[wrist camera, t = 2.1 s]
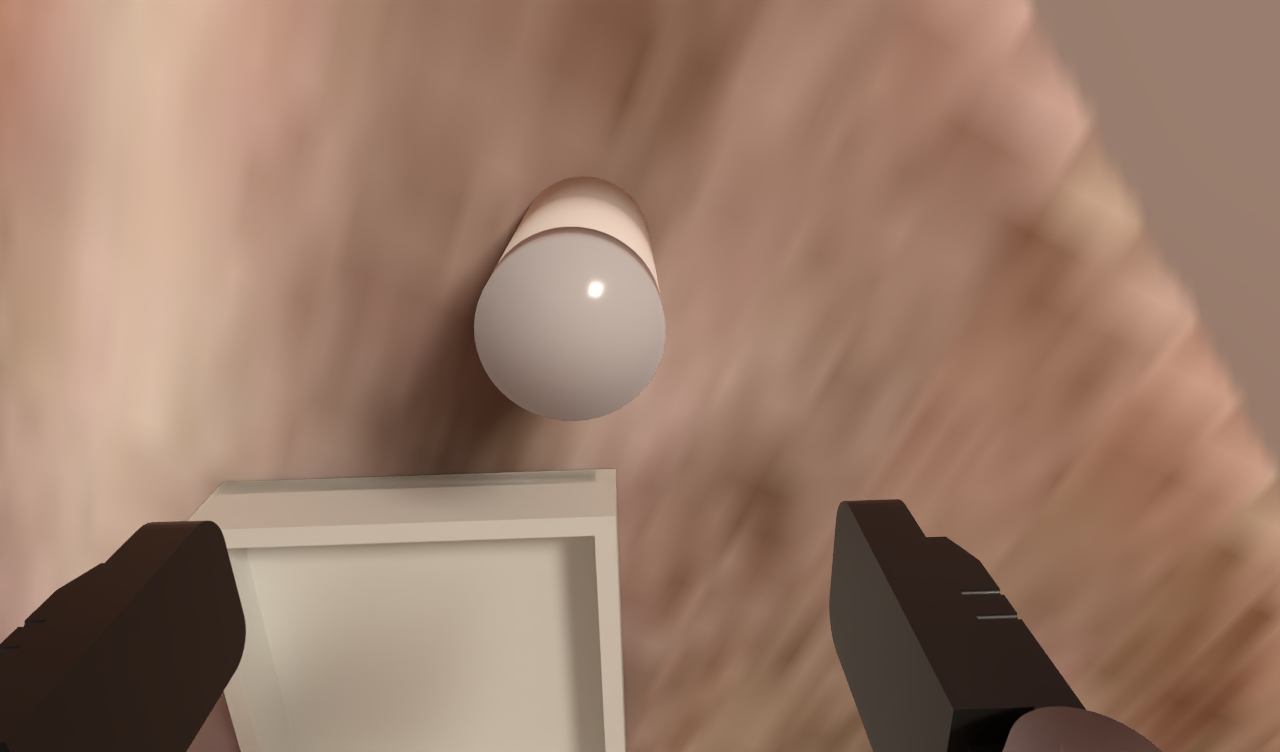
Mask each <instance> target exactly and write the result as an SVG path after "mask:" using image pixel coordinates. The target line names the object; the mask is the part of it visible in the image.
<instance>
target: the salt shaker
mask: <svg viewBox="0 0 1280 752" xmlns="http://www.w3.org/2000/svg"><path fill="white" fill-rule="evenodd" d="M665 336H666V328H665V318H664V313H663V307H662V302H661V296H660V291H659V286H658V280H657V275H656V269H655V264H654V259H653V253H652V248H651V243H650V237H649V232H648V227H647V223H646V221H645V218H644V215H643V213H642V211H641V210H640V208H639V206H638V205H637V204H636V202H635V201H634V200H633V199H632V198H631V196H630V195H629V194H627V193H626V192H625V191H624V190H623V189H621V188H619V187H618V186H616V185H615V184H612V183H610V182H608V181H605V180H602V179H599V178H593V177H573V178H569V179H565V180H562V181H559V182H557V183H555V184H553V185H551V186H549V187H548V188H546V189H545V190H544V191H542V192H541V193H540V194H539V195H538V196H537V197H536V198H535V200H534V201H533V202H532V203H531V205H530V207H529V208H528V210H527V212H526V214H525V215H524V217H523V219H522V221H521V223H520V224H519V226H518V228H517V230H516V232H515V233H514V235H513V237H512V239H511V241H510V242H509V244H508V246H507V248H506V250H505V251H504V253H503V255H502V257H501V259H500V260H499V262H498V264H497V266H496V268H495V269H494V271H493V273H492V275H491V277H490V278H489V280H488V282H487V284H486V286H485V287H484V289H483V291H482V294H481V296H480V298H479V301H478V304H477V308H476V312H475V321H474V338H475V343H476V349H477V352H478V355H479V358H480V361H481V363H482V365H483V367H484V370H485V371H486V373H487V375H488V376H489V378H490V379H491V381H492V382H493V383H494V384H495V386H496V387H497V388H498V389H499V390H500V391H501V392H502V393H503V394H504V395H505V396H506V397H507V398H508V399H510V400H511V401H513V402H514V403H515V404H517V405H518V406H520V407H522V408H524V409H526V410H527V411H529V412H532V413H534V414H537V415H539V416H543V417H547V418H550V419H556V420H563V421H579V420H588V419H593V418H598V417H601V416H604V415H607V414H610V413H612V412H614V411H616V410H618V409H620V408H622V407H623V406H625V405H626V404H628V403H629V402H631V401H632V400H633V399H634V398H636V397H637V396H638V395H639V394H640V393H641V392H642V391H643V390H644V389H645V387H646V386H647V385H648V384H649V382H650V381H651V379H652V378H653V376H654V375H655V373H656V371H657V369H658V367H659V364H660V361H661V359H662V356H663V351H664V346H665Z"/></svg>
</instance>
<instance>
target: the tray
mask: <svg viewBox="0 0 1280 752" xmlns="http://www.w3.org/2000/svg"><path fill="white" fill-rule="evenodd" d="M188 521H213V522H215V523H216V524H217V525H218V526H219V527H220V529H221V531H222V533H223V536H224V539H225V543H226V547H227V550H228V554H229V558H230V562H231V566H232V570H233V574H234V578H235V582H236V585H237V589H238V593H239V597H240V601H241V605H242V609H243V613H244V617H245V623H246V639H245V646H244V651H243V655H242V658H241V661H240V664H239V666H238V668H237V670H236V672H235V673H234V675H233V676H232V678H231V680H230V681H229V683H228V685H227V686H226V688H225V689H224V694H225V698H226V701H227V705H228V708H229V712H230V716H231V719H232V723H233V726H234V730H235V733H236V737H237V740H238V744H239V747H240V751H241V752H626V729H625V702H624V675H623V648H622V621H621V595H620V568H619V541H618V514H617V487H616V469H598V470H568V471H538V472H508V473H477V474H447V475H417V476H387V477H357V478H326V479H296V480H266V481H236V482H223V483H222V484H221V485H220V486H219V487H218V488H217V489H216V490H215V491H214V492H213V494H212V495H211V496H210V497H209V498H208V499H207V500H206V501H205V502H204V503H203V505H202V506H201V507H200V508H199V509H198V510H197V511H196V512H195V513H194V514H193V515H192V517H191V518H190V519H189V520H188Z"/></svg>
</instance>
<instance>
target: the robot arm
mask: <svg viewBox="0 0 1280 752" xmlns="http://www.w3.org/2000/svg"><path fill="white" fill-rule="evenodd" d="M829 610H830V623H831V631H832V636H833V641H834V645H835V648H836V651H837V654H838V657H839V660H840V662H841V665H842V668H843V671H844V673H845V676H846V679H847V681H848V684H849V687H850V690H851V692H852V695H853V698H854V701H855V703H856V706H857V709H858V711H859V714H860V717H861V720H862V722H863V725H864V728H865V730H866V733H867V736H868V739H869V741H870V744H871V747H872V750H873V752H1163V751H1162V750H1161V749H1159V748H1158V747H1157V746H1156V745H1155V744H1153V743H1152V742H1151V741H1150V740H1149V739H1147V738H1146V737H1144V736H1143V735H1141V734H1140V733H1138V732H1137V731H1135V730H1134V729H1132V728H1130V727H1128V726H1126V725H1125V724H1123V723H1121V722H1119V721H1116V720H1114V719H1112V718H1110V717H1107V716H1105V715H1102V714H1099V713H1096V712H1093V711H1088V710H1086V709H1085V707H1084V706H1083V705H1082V703H1081V702H1080V701H1079V699H1078V698H1077V696H1076V695H1075V694H1074V692H1073V691H1072V689H1071V688H1070V687H1069V685H1068V684H1067V682H1066V681H1065V680H1064V678H1063V677H1062V675H1061V674H1060V673H1059V671H1058V670H1057V668H1056V667H1055V666H1054V664H1053V663H1052V661H1051V660H1050V659H1049V657H1048V656H1047V654H1046V653H1045V652H1044V650H1043V649H1042V647H1041V646H1040V645H1039V643H1038V642H1037V640H1036V639H1035V638H1034V636H1033V635H1032V633H1031V632H1030V631H1029V629H1028V628H1027V626H1026V625H1025V624H1024V622H1023V621H1022V619H1020V620H1018V618H1017V612H1016V611H1015V610H1014V608H1013V607H1012V605H1011V604H1010V603H1009V601H1008V600H1007V598H1006V597H1005V596H1004V595H1001V594H1000V589H999V587H998V586H997V584H996V583H995V582H994V580H993V579H992V577H991V576H990V575H989V573H988V572H987V570H986V569H985V568H984V566H983V565H982V563H981V562H980V561H979V560H978V559H977V558H975V557H974V556H972V555H971V554H970V553H968V552H967V551H965V550H964V549H962V548H961V547H960V546H958V545H957V544H955V543H954V542H953V541H951V540H950V539H948V538H947V537H925V535H924V533H923V532H922V530H921V529H920V527H919V526H918V524H917V522H916V521H915V519H914V518H913V516H912V515H911V513H910V511H909V510H908V508H907V507H906V505H905V504H904V503H903V502H902V501H901V500H899V499H895V500H864V501H843V502H841V503H840V505H839V507H838V511H837V517H836V528H835V540H834V552H833V564H832V576H831V588H830V601H829ZM245 639H246V623H245V617H244V613H243V609H242V605H241V601H240V597H239V593H238V589H237V585H236V582H235V578H234V574H233V570H232V566H231V562H230V558H229V554H228V550H227V547H226V543H225V539H224V536H223V533H222V531H221V529H220V527H219V526H218V525H217V524H216V523H215V522H213V521H179V522H151V523H147V524H145V525H143V526H142V527H141V528H139V529H138V530H137V531H136V532H135V533H134V534H133V535H132V536H131V537H130V538H129V539H128V540H127V541H126V542H125V543H124V544H123V545H122V546H121V547H120V548H119V549H118V550H117V551H116V552H115V553H114V554H113V555H112V556H111V557H110V558H109V559H108V560H107V561H106V562H105V563H101V564H99V565H97V566H96V567H94V568H92V569H91V570H89V571H88V572H86V573H84V574H83V575H81V576H79V577H78V578H76V579H74V580H73V581H71V582H69V583H68V584H66V585H64V586H63V587H61V588H59V589H58V590H56V591H55V592H54V593H53V594H52V595H51V596H50V597H49V598H48V599H47V600H46V601H45V602H44V603H43V604H42V605H41V606H40V607H39V608H38V609H37V610H35V611H34V612H33V613H32V614H31V615H30V616H29V617H28V618H27V619H26V620H25V625H24V627H18V628H17V629H16V630H15V631H14V632H12V633H11V634H10V635H9V636H8V637H7V638H6V639H5V640H4V641H3V642H2V643H1V644H0V752H186V751H187V749H188V748H189V746H190V745H191V743H192V741H193V740H194V738H195V736H196V735H197V733H198V732H199V730H200V728H201V727H202V725H203V723H204V722H205V720H206V719H207V717H208V715H209V714H210V712H211V711H212V709H213V707H214V706H215V704H216V702H217V701H218V699H219V698H220V696H221V694H222V693H223V691H224V689H225V688H226V686H227V685H228V683H229V681H230V680H231V678H232V676H233V675H234V673H235V672H236V670H237V668H238V666H239V664H240V661H241V658H242V655H243V651H244V646H245Z"/></svg>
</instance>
